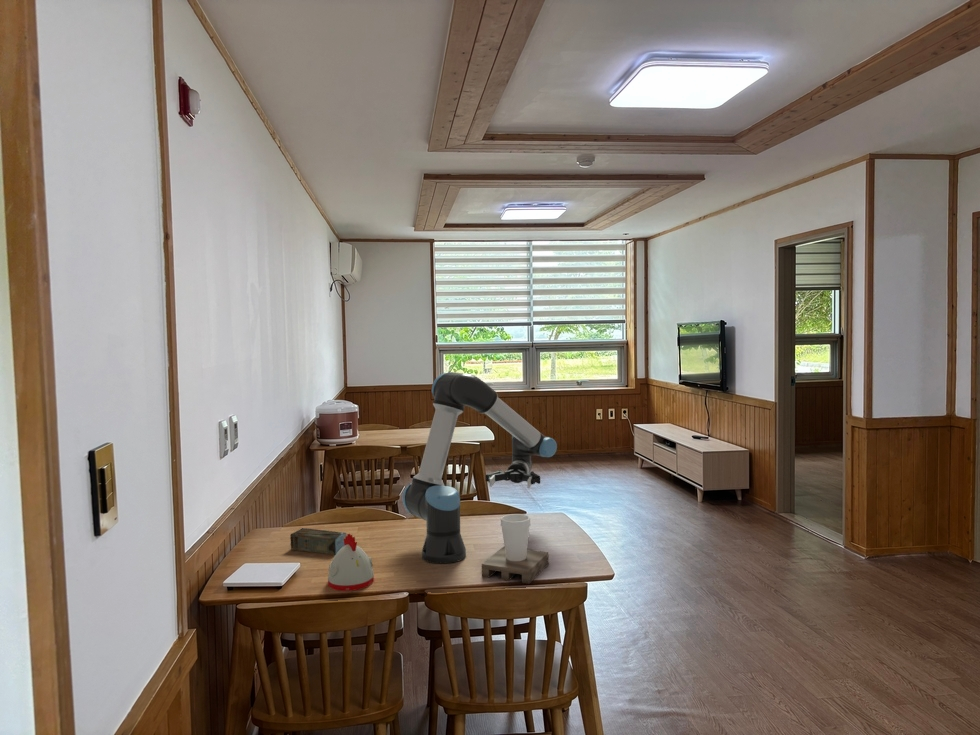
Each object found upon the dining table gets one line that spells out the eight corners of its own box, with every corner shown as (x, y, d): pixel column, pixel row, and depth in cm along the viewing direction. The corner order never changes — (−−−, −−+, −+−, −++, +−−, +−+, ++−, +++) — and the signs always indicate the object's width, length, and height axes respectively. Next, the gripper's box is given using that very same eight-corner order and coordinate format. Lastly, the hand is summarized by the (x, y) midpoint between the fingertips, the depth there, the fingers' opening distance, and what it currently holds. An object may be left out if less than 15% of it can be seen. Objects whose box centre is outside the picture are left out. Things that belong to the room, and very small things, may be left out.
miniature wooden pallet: (529, 583, 192) (529, 570, 191) (481, 576, 198) (481, 563, 198) (548, 564, 208) (548, 552, 208) (504, 557, 215) (503, 546, 214)
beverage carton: (335, 555, 220) (335, 537, 220) (289, 551, 226) (288, 532, 226) (347, 548, 228) (347, 530, 228) (302, 544, 234) (302, 526, 234)
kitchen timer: (338, 594, 186) (337, 544, 185) (321, 580, 197) (320, 533, 197) (381, 583, 194) (380, 535, 194) (362, 570, 205) (361, 525, 205)
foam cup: (536, 558, 202) (536, 518, 201) (514, 565, 196) (513, 524, 196) (517, 550, 210) (516, 512, 209) (495, 557, 204) (495, 517, 203)
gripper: (550, 482, 241) (544, 495, 221) (486, 480, 246) (475, 492, 225) (550, 462, 241) (544, 474, 220) (486, 461, 246) (474, 471, 225)
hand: (509, 483), depth 223 cm, fingers open, 13 cm apart
